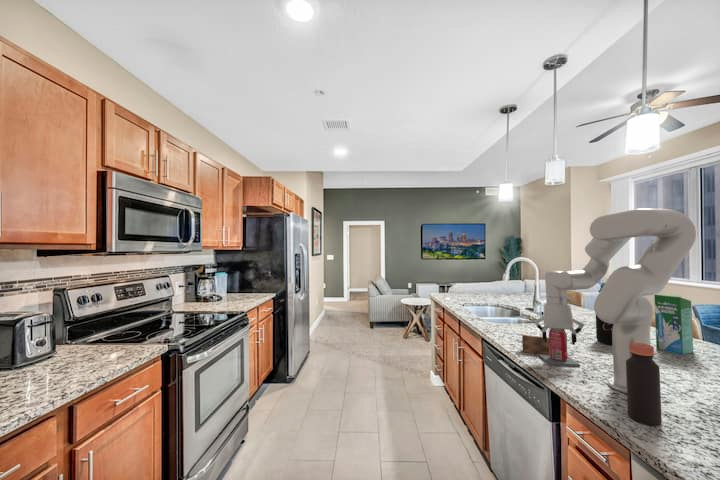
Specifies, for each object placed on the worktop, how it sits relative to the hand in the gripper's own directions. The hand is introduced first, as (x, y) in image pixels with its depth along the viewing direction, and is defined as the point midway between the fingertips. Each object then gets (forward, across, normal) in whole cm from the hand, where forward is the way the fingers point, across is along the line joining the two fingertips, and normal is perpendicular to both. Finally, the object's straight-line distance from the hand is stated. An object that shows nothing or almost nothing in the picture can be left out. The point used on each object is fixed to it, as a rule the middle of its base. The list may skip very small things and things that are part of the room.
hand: (559, 342), depth 127 cm
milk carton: (+8, -46, -40) cm, 62 cm away
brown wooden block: (+7, +7, -10) cm, 14 cm away
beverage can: (+7, +1, -1) cm, 7 cm away
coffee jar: (+8, -24, -42) cm, 48 cm away
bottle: (+9, -16, +40) cm, 44 cm away
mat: (+8, +1, -1) cm, 8 cm away
